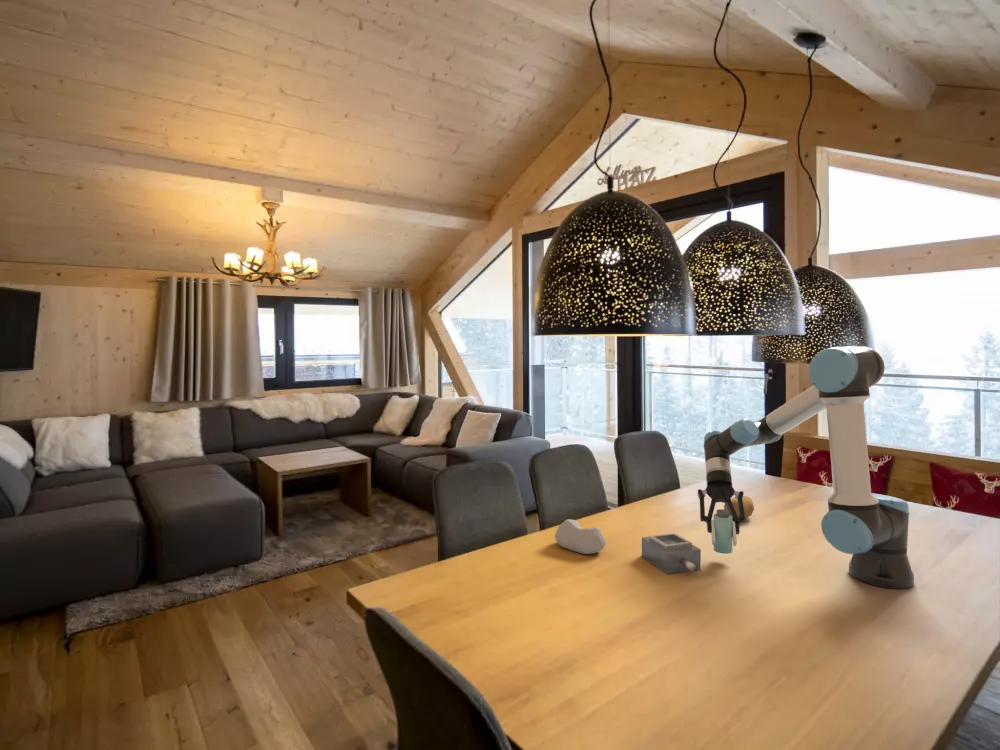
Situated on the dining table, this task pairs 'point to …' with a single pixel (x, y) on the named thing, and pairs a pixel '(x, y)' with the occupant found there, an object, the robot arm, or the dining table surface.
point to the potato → (746, 504)
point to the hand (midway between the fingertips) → (724, 542)
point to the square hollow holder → (671, 553)
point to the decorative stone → (579, 537)
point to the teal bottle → (723, 531)
